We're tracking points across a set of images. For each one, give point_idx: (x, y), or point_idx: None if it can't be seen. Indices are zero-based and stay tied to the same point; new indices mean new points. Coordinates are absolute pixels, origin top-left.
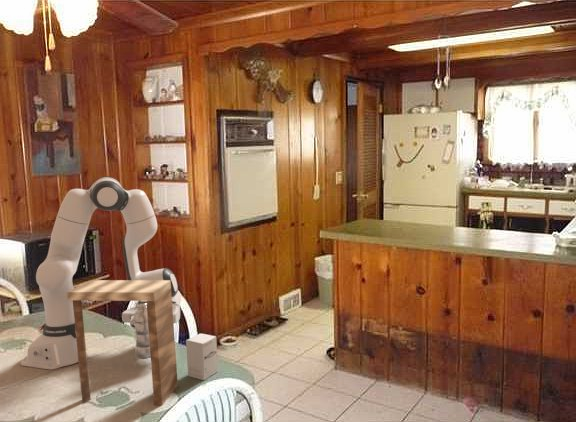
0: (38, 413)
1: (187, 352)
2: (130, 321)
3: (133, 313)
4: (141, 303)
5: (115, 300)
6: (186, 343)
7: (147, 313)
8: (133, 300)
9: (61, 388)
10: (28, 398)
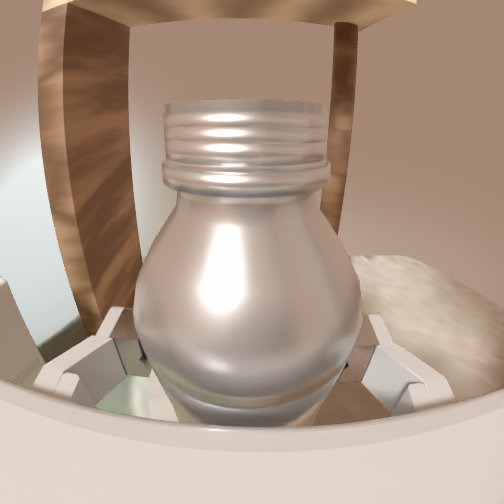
0: (369, 262)
1: (23, 321)
2: (368, 316)
3: (467, 404)
4: (287, 142)
5: (216, 18)
6: (10, 290)
7: (128, 58)
8: (164, 21)
9: (418, 325)
10: (437, 292)
